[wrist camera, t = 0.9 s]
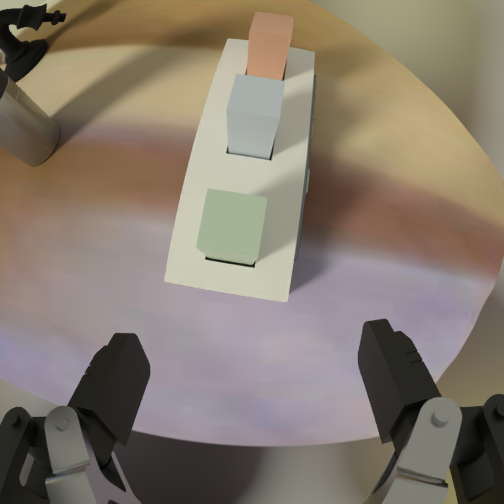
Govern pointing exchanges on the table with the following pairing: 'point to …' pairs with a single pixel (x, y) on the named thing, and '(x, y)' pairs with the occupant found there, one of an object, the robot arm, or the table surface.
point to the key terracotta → (269, 44)
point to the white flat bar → (248, 183)
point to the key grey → (253, 115)
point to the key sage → (231, 226)
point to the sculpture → (24, 53)
